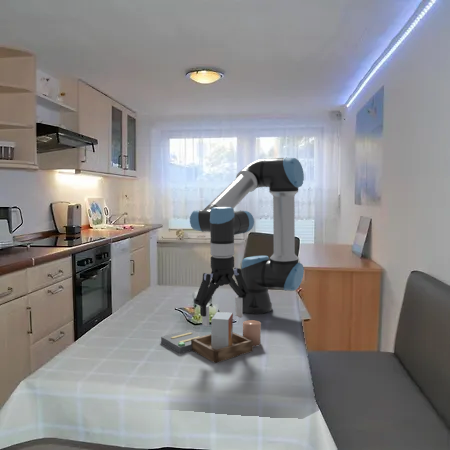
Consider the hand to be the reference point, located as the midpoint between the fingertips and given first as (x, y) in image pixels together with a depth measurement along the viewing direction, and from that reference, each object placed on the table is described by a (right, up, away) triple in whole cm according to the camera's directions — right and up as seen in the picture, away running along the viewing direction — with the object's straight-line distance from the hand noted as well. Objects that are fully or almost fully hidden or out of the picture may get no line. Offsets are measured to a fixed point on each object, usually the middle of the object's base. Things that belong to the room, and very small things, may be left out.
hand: (222, 321), depth 131 cm
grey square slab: (-13, -9, +6) cm, 17 cm away
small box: (0, -9, 0) cm, 9 cm away
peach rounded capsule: (+10, -9, +7) cm, 15 cm away
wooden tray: (0, -10, 0) cm, 10 cm away
